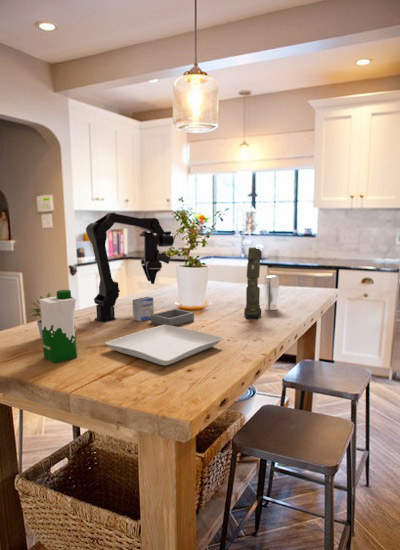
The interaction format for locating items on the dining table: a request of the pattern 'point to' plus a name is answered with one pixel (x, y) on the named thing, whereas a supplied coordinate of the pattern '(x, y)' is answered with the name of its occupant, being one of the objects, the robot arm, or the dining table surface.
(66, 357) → the milk carton
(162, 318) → the bin
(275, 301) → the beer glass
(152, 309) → the medicine box
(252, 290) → the mechanical leg
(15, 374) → the dining table surface
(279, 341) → the dining table surface
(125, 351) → the square plate
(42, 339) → the house plant
